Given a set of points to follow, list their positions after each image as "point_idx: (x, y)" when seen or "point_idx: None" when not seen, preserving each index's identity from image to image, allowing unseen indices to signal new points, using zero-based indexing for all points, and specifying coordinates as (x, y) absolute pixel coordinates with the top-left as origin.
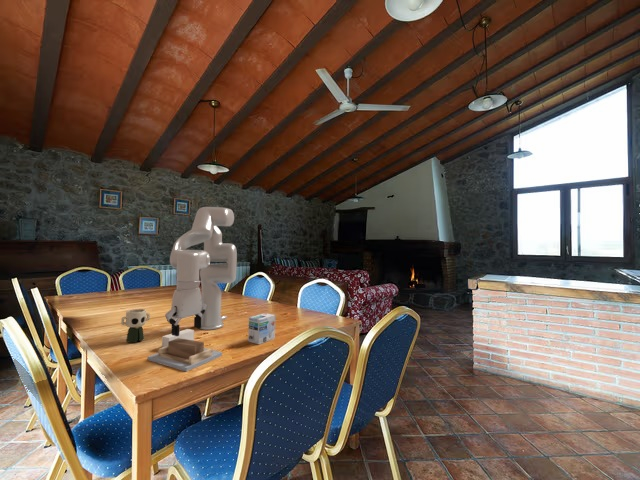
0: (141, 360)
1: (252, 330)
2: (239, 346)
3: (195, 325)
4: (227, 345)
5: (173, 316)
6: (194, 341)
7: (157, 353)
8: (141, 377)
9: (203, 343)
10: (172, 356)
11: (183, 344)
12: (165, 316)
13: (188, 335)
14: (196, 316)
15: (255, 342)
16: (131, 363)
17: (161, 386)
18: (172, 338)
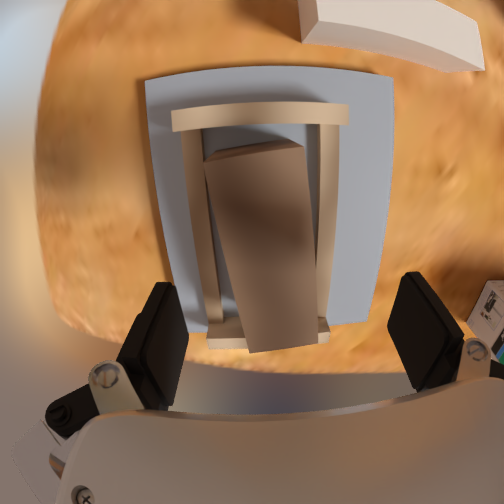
0: (133, 68)
1: (501, 325)
2: (451, 290)
3: (406, 300)
4: (455, 249)
5: (121, 420)
6: (305, 301)
7: (199, 76)
8: (72, 243)
9: (313, 339)
10: (200, 216)
11: (233, 290)
12: (20, 439)
13: (444, 58)
14: (445, 369)
15: (473, 314)
16: (94, 75)
17: (101, 333)
18: (343, 27)
